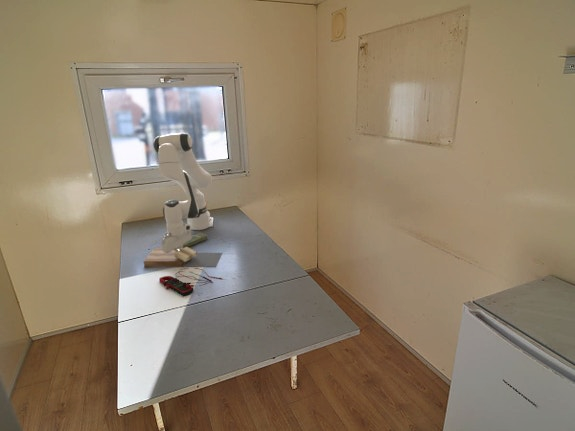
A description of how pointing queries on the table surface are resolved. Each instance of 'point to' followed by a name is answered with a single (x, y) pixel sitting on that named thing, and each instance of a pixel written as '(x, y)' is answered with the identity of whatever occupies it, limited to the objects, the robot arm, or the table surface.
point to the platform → (162, 259)
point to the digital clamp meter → (182, 283)
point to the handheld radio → (195, 239)
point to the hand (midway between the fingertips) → (179, 252)
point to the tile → (185, 254)
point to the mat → (203, 260)
